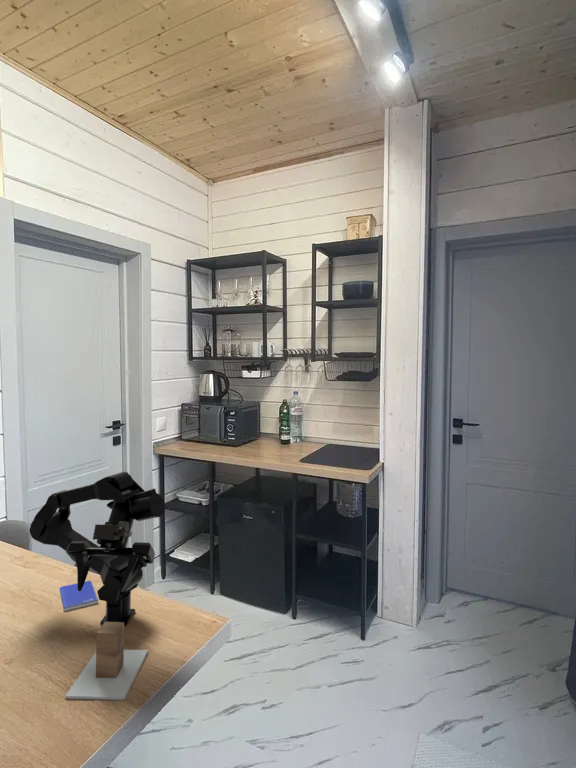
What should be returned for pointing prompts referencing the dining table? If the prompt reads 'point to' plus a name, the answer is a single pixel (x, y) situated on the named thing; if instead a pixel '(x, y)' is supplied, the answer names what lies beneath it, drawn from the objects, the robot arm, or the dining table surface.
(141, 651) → the mat
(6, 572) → the dining table surface
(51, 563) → the dining table surface
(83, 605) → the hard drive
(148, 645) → the dining table surface
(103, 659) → the walnut block
